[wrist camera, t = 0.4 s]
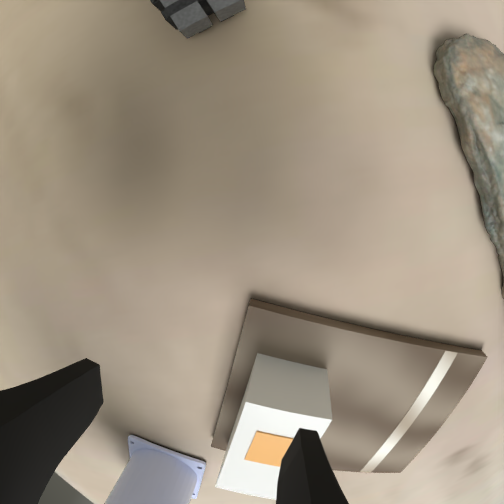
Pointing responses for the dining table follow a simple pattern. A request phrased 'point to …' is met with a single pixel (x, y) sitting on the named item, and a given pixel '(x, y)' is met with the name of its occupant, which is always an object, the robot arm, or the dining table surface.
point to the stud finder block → (273, 423)
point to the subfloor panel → (357, 384)
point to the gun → (196, 13)
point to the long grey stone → (478, 120)
